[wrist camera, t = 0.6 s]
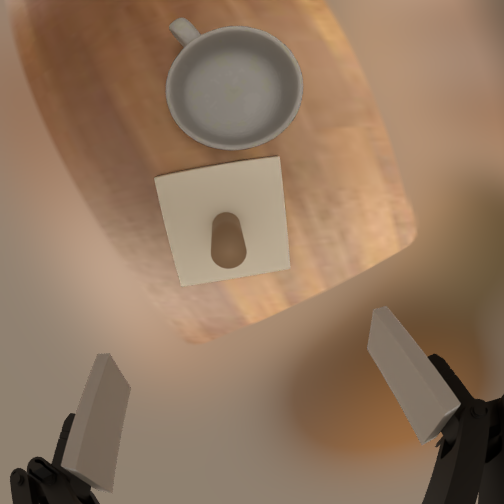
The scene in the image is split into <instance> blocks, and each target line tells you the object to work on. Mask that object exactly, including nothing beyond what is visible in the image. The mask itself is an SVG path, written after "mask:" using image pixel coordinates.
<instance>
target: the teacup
mask: <svg viewBox="0 0 504 504" xmlns="http://www.w3.org/2000/svg"><path fill="white" fill-rule="evenodd" d="M169 29H170V31H171V32H172V34H173V35H174V36H175V38H176V39H177V40H178V41H179V43H180V44H181V45H182V46H183V47H184V48H183V50H182V51H181V52H180V53H179V54H178V56H177V57H176V58H175V60H174V62H173V63H172V66H171V68H170V70H169V72H168V76H167V81H166V100H167V104H168V107H169V110H170V112H171V115H172V117H173V119H174V120H175V122H176V123H177V125H178V126H179V127H180V128H181V129H182V130H183V131H184V132H185V133H186V134H187V135H188V136H190V137H191V138H193V139H194V140H196V141H197V142H199V143H201V144H204V145H206V146H209V147H212V148H216V149H221V150H243V149H249V148H252V147H256V146H259V145H261V144H264V143H266V142H268V141H270V140H272V139H274V138H275V137H277V136H278V135H279V134H280V133H282V132H283V131H284V130H285V129H286V128H287V127H288V126H289V125H290V123H291V122H292V121H293V119H294V118H295V116H296V114H297V112H298V110H299V107H300V104H301V100H302V94H303V78H302V73H301V70H300V66H299V64H298V62H297V60H296V59H295V57H294V55H293V54H292V52H291V51H290V49H288V48H287V46H286V45H285V44H283V43H282V42H281V41H279V40H278V39H277V38H276V37H274V36H272V35H271V34H269V33H267V32H265V31H262V30H259V29H255V28H251V27H246V26H228V27H223V28H218V29H215V30H212V31H210V32H207V33H205V34H203V35H201V34H200V33H199V32H198V30H197V29H196V28H195V27H194V26H193V25H192V24H191V23H190V22H189V21H188V20H187V19H185V18H178V19H176V20H175V21H174V22H172V23H171V24H170V26H169Z"/></svg>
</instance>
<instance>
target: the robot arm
mask: <svg viewBox="0 0 504 504" xmlns="http://www.w3.org/2000/svg"><path fill="white" fill-rule="evenodd" d="M367 349H368V351H369V353H370V355H371V356H372V358H373V360H374V361H375V363H376V365H377V366H378V368H379V369H380V371H381V373H382V375H383V376H384V378H385V380H386V381H387V383H388V385H389V387H390V388H391V390H392V392H393V394H394V395H395V397H396V399H397V401H398V402H399V404H400V406H401V408H402V410H403V411H404V413H405V415H406V417H407V419H408V420H409V422H410V424H411V426H412V428H413V430H414V431H415V433H416V435H417V437H418V439H419V441H420V443H421V445H423V444H425V443H427V442H428V441H431V440H432V439H434V438H436V437H437V435H438V434H439V433H440V432H442V434H443V437H442V438H441V439H440V440H439V441H438V442H437V444H436V446H435V447H438V446H439V445H440V449H439V452H438V456H437V460H436V463H435V467H434V470H433V474H432V477H431V480H430V483H429V486H428V489H427V492H426V494H425V498H424V500H423V502H422V504H475V503H476V499H477V495H478V492H479V498H478V504H504V395H503V396H502V397H501V398H499V399H495V400H492V401H489V402H485V401H484V400H480V399H474V398H473V397H472V396H471V394H470V393H469V392H468V390H467V389H466V388H465V386H464V385H463V384H462V382H461V381H460V379H459V378H458V377H457V376H456V375H455V373H454V372H453V370H452V369H450V366H449V365H448V364H447V363H446V361H445V360H444V359H443V358H441V357H440V356H438V355H437V354H433V355H430V356H428V357H427V356H426V355H425V354H424V352H423V351H422V350H421V348H420V347H419V346H418V345H417V343H416V342H415V341H414V340H413V338H412V337H411V336H410V334H409V333H408V332H407V331H406V329H405V328H404V327H403V326H402V324H401V323H400V322H399V321H398V319H397V318H396V317H395V316H394V315H393V313H392V312H391V311H390V310H389V309H388V307H387V306H384V307H381V308H377V309H374V310H373V315H372V322H371V329H370V335H369V341H368V346H367ZM130 391H131V387H130V385H129V384H128V382H127V381H126V379H125V378H124V376H123V374H122V373H121V371H120V370H119V368H118V366H117V365H116V363H115V361H114V360H113V358H112V356H111V355H110V354H97V357H96V359H95V362H94V365H93V367H92V370H91V372H90V375H89V377H88V380H87V383H86V385H85V388H84V391H83V394H82V397H81V399H80V403H79V405H78V408H77V412H76V414H73V413H70V414H69V416H68V417H67V418H66V420H65V421H64V424H63V427H62V432H61V433H60V439H59V440H58V443H57V447H56V450H55V454H54V458H53V461H52V464H50V463H49V462H47V461H46V460H45V459H43V458H42V457H35V458H33V459H31V460H30V462H29V463H28V466H27V472H26V471H25V470H23V469H21V468H17V469H15V470H13V472H12V473H11V476H10V484H11V492H12V499H13V504H100V503H99V502H98V500H97V499H96V497H95V495H94V494H93V493H92V492H91V491H90V490H91V487H93V488H95V489H97V490H98V491H103V492H108V493H112V492H113V484H114V476H115V469H116V463H117V456H118V450H119V445H120V439H121V433H122V428H123V422H124V418H125V413H126V408H127V404H128V399H129V395H130Z"/></svg>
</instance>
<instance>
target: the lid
mask: <svg viewBox="0 0 504 504" xmlns="http://www.w3.org/2000/svg"><path fill="white" fill-rule="evenodd" d="M154 180H155V184H156V189H157V194H158V198H159V203H160V207H161V211H162V216H163V220H164V224H165V228H166V232H167V236H168V240H169V244H170V248H171V252H172V255H173V259H174V263H175V266H176V270H177V274H178V277H179V281H180V284H181V287H185V286H192V285H198V284H204V283H210V282H217V281H223V280H229V279H235V278H241V277H246V276H252V275H258V274H264V273H269V272H275V271H281V270H286V269H290V256H289V244H288V233H287V222H286V211H285V201H284V191H283V182H282V173H281V164H280V156H272V157H264V158H256V159H249V160H242V161H235V162H229V163H223V164H217V165H211V166H205V167H200V168H195V169H189V170H184V171H179V172H175V173H170V174H165V175H161V176H156V177H155V178H154Z"/></svg>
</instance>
